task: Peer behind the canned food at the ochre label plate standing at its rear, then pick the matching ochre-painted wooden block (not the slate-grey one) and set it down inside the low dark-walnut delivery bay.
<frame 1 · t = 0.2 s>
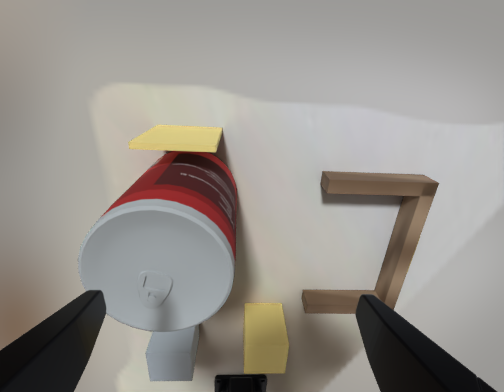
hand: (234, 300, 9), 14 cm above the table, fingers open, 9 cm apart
ochre block: (261, 316, 30), on the table
grey block: (180, 322, 30), on the table
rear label: (190, 128, 21), on the table
canned food: (193, 189, 23), on the table
delivery bay: (345, 242, 26), on the table
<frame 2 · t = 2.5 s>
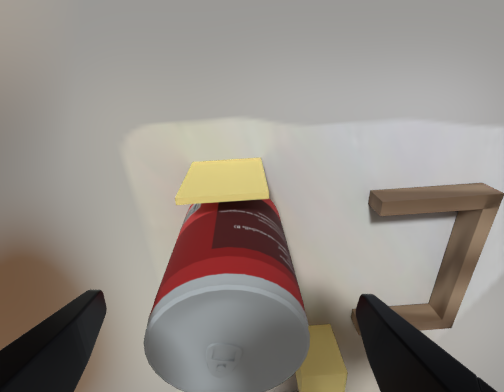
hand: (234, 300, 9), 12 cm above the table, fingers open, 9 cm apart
ochre block: (310, 337, 29), on the table
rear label: (227, 162, 20), on the table
canned food: (233, 222, 22), on the table
delivery bay: (396, 259, 24), on the table
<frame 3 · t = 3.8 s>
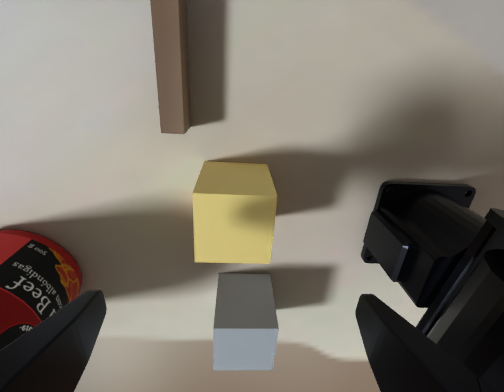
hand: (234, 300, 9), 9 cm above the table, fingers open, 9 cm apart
ochre block: (234, 191, 18), on the table
grey block: (243, 292, 22), on the table
canned food: (31, 268, 20), on the table
delivery bay: (49, 54, 14), on the table
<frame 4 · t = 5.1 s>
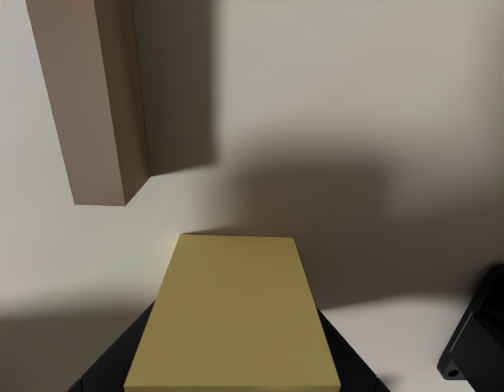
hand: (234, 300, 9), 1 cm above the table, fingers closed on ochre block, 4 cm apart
ochre block: (235, 279, 10), on the table, touching gripper
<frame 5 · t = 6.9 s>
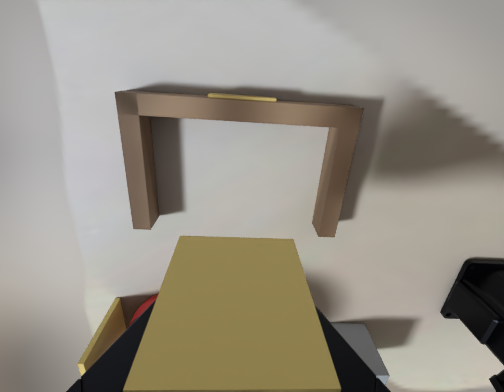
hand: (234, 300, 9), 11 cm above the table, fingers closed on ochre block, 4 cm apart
ochre block: (235, 281, 10), point 10 cm above the table, touching gripper
grey block: (340, 337, 27), on the table
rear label: (121, 318, 25), on the table
delivery bay: (238, 178, 20), on the table
when the fingers open (3 cm above the table, at t = 8.8 s): ochre block drops 2 cm, on the table.
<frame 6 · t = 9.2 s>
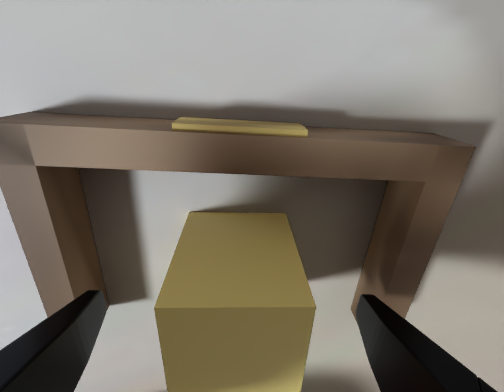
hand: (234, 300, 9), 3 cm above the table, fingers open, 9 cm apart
ochre block: (237, 251, 12), on the table
delivery bay: (235, 251, 12), on the table
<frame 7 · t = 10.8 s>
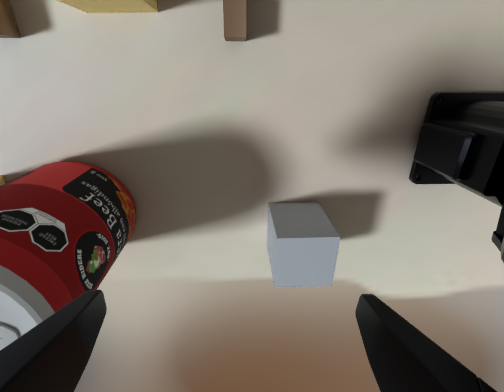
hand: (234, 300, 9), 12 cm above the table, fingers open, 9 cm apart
grey block: (291, 224, 22), on the table
canned food: (87, 205, 21), on the table
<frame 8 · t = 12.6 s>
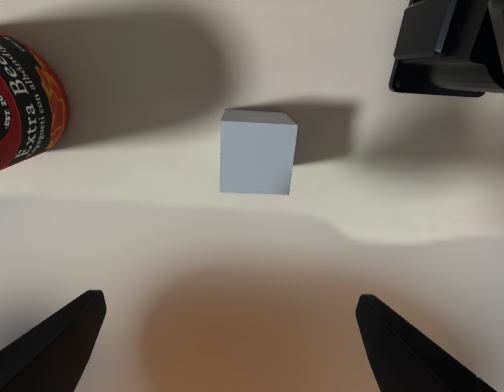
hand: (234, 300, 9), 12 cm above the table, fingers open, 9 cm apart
grey block: (253, 139, 19), on the table
canned food: (10, 96, 17), on the table
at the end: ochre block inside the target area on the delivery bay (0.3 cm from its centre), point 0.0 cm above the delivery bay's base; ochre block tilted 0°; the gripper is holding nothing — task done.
